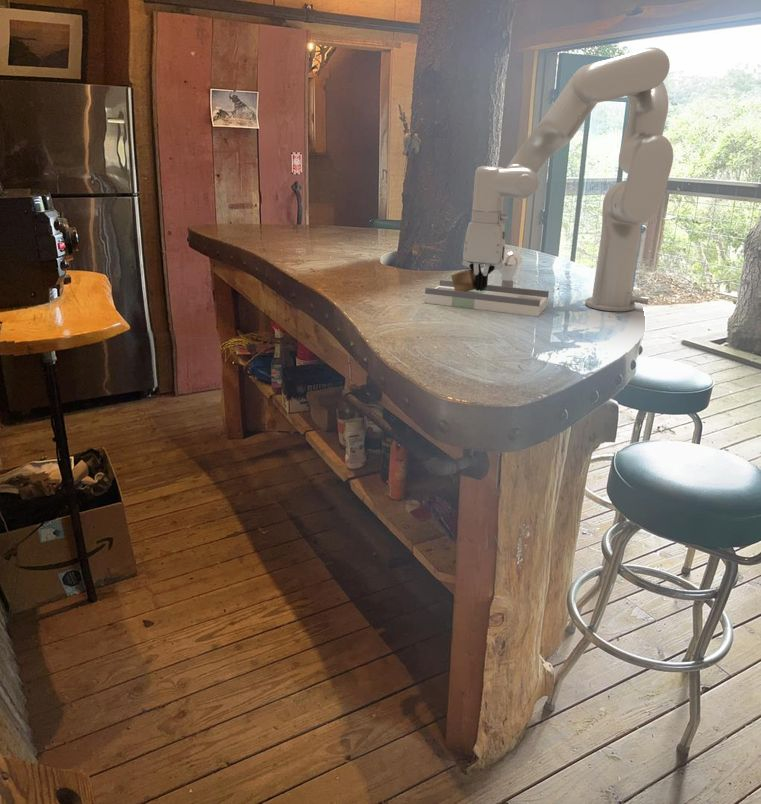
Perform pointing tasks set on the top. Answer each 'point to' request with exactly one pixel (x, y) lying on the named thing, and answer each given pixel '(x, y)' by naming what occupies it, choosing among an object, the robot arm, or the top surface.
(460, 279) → the walnut block
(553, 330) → the top surface
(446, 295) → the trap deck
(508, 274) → the light bulb
